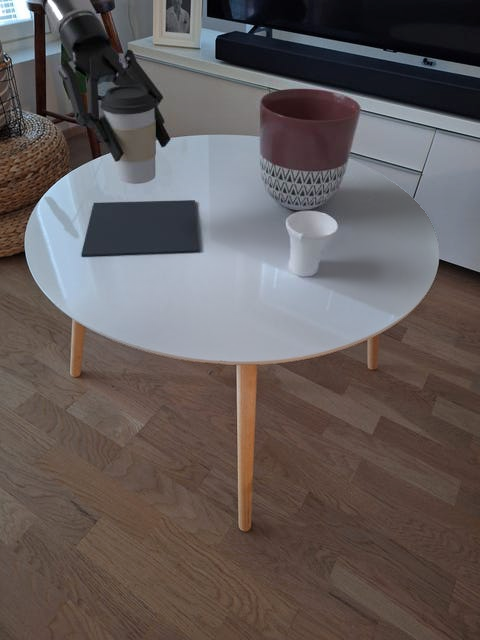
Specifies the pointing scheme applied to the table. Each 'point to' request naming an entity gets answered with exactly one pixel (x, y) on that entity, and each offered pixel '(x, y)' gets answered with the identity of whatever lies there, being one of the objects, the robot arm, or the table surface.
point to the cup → (308, 240)
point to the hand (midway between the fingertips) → (143, 150)
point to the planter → (305, 144)
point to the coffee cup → (132, 131)
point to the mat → (142, 228)
